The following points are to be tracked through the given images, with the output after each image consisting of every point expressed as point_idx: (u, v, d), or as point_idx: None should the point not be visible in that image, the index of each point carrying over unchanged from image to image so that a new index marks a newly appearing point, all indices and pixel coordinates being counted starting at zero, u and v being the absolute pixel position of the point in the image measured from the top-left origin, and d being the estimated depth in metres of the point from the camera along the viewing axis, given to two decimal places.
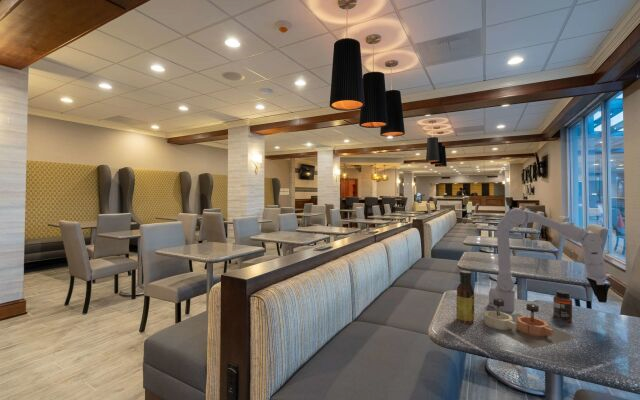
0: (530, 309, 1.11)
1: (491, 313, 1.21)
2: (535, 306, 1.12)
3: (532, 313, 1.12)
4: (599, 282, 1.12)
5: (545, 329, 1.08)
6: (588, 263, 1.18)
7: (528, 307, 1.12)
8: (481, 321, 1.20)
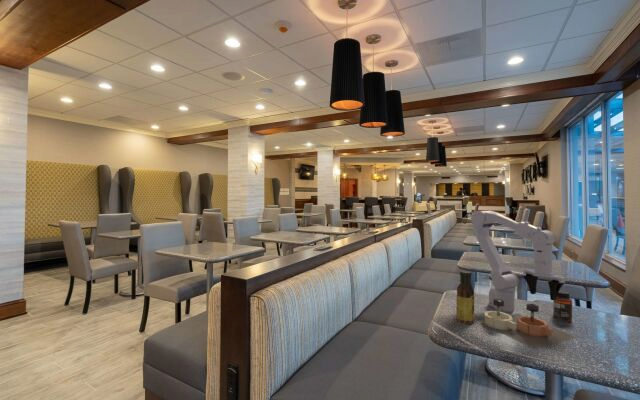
0: (530, 309, 1.11)
1: (491, 313, 1.21)
2: (535, 306, 1.12)
3: (532, 313, 1.12)
4: None
5: (545, 329, 1.08)
6: (534, 260, 1.21)
7: (528, 307, 1.12)
8: (481, 321, 1.20)
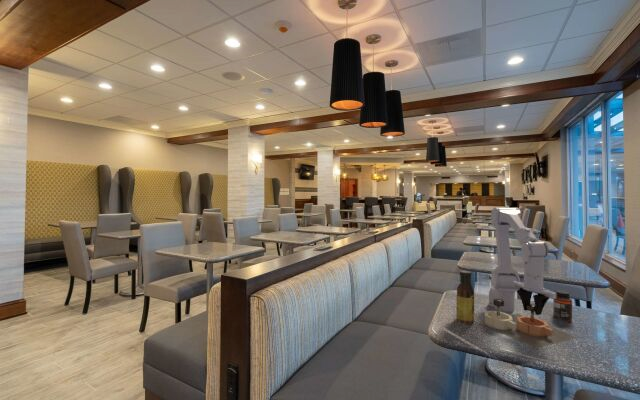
0: (530, 309, 1.11)
1: (491, 313, 1.21)
2: None
3: (532, 313, 1.12)
4: None
5: (545, 329, 1.08)
6: None
7: (528, 307, 1.12)
8: (481, 321, 1.20)
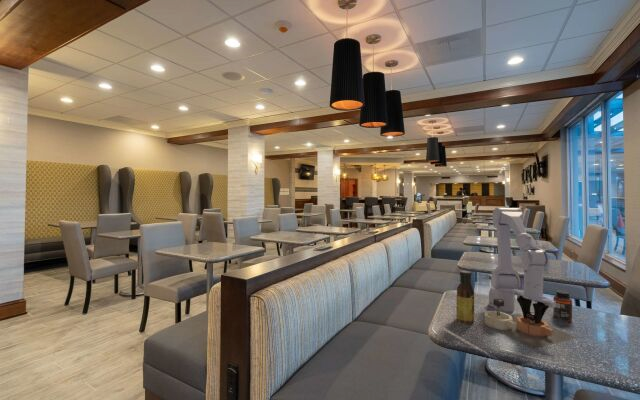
0: (530, 317, 1.12)
1: (491, 313, 1.21)
2: None
3: (532, 321, 1.12)
4: None
5: (545, 329, 1.08)
6: None
7: (528, 315, 1.12)
8: (481, 321, 1.20)
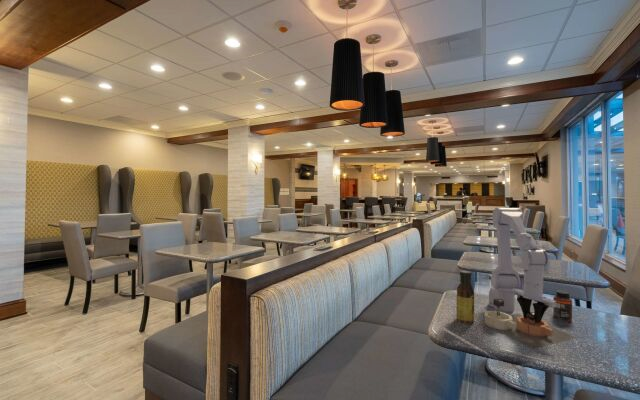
0: (530, 317, 1.12)
1: (491, 313, 1.21)
2: None
3: (532, 321, 1.12)
4: None
5: (545, 329, 1.08)
6: None
7: (528, 315, 1.12)
8: (481, 321, 1.20)
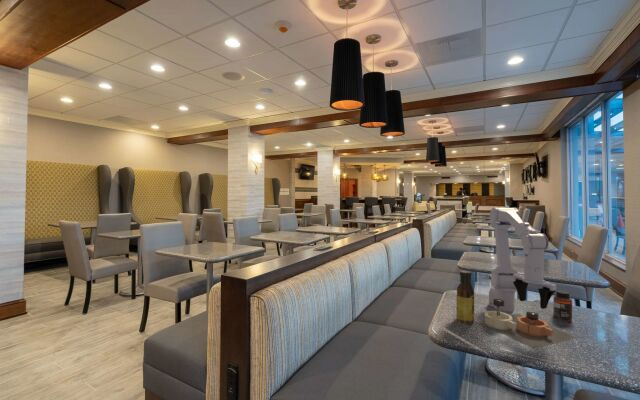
0: (530, 317, 1.12)
1: (491, 313, 1.21)
2: (535, 314, 1.12)
3: (532, 321, 1.12)
4: None
5: (545, 329, 1.08)
6: None
7: (528, 315, 1.12)
8: (481, 321, 1.20)
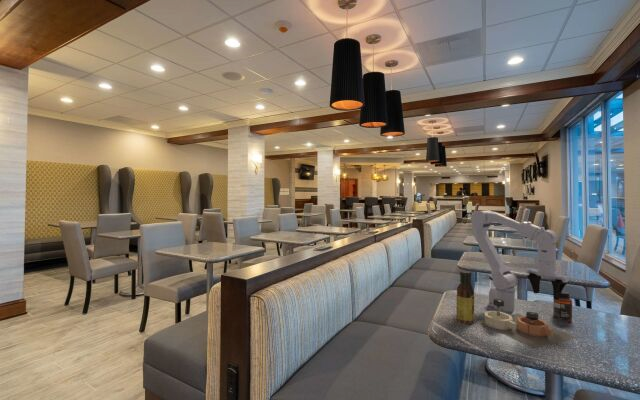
0: (530, 317, 1.12)
1: (491, 313, 1.21)
2: (535, 314, 1.12)
3: (532, 321, 1.12)
4: None
5: (545, 329, 1.08)
6: (538, 260, 1.22)
7: (528, 315, 1.12)
8: (481, 321, 1.20)
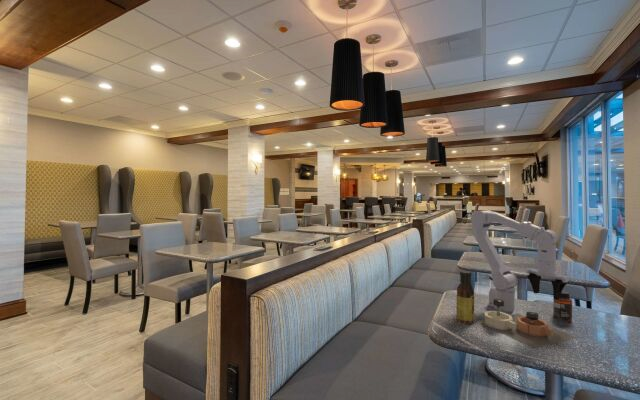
0: (530, 317, 1.12)
1: (491, 313, 1.21)
2: (535, 314, 1.12)
3: (532, 321, 1.12)
4: None
5: (545, 329, 1.08)
6: (538, 260, 1.22)
7: (528, 315, 1.12)
8: (481, 321, 1.20)
